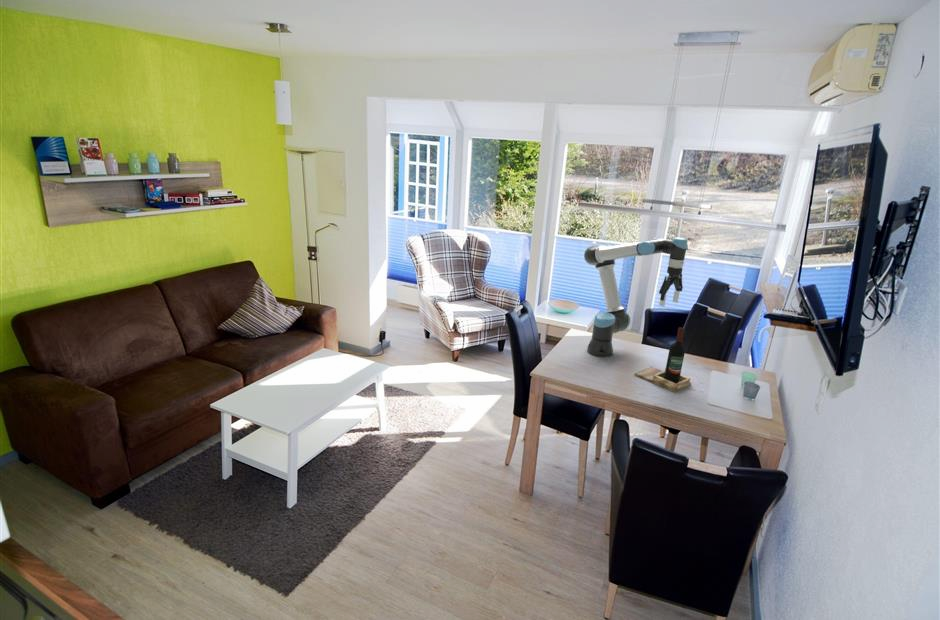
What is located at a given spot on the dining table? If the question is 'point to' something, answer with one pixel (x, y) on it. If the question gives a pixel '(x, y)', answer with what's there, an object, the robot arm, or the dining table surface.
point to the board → (658, 378)
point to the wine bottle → (675, 359)
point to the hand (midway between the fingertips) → (668, 304)
